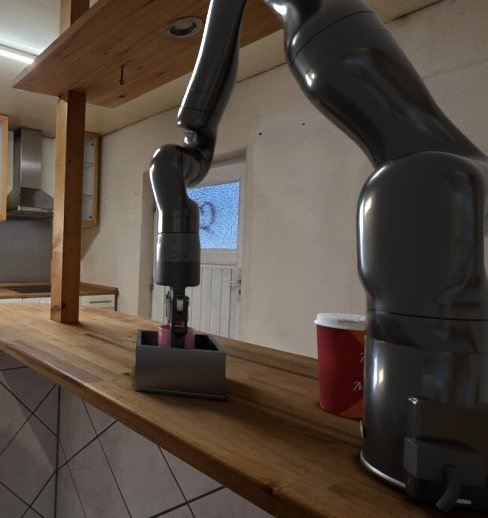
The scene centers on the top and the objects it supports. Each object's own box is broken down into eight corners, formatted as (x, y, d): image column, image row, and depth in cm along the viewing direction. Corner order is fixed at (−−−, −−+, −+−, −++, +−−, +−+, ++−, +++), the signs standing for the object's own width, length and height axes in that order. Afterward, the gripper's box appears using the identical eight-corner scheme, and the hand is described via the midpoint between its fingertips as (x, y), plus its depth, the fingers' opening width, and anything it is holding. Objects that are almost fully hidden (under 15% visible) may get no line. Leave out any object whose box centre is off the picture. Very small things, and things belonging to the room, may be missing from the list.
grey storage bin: (225, 400, 58) (226, 352, 58) (135, 390, 62) (135, 345, 62) (210, 373, 71) (211, 334, 71) (136, 366, 75) (137, 329, 75)
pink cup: (195, 385, 63) (196, 332, 63) (158, 381, 65) (159, 329, 65) (191, 374, 69) (192, 325, 69) (157, 370, 71) (158, 323, 70)
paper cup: (383, 427, 50) (386, 323, 49) (311, 412, 54) (314, 316, 54) (375, 408, 56) (378, 315, 56) (311, 395, 61) (313, 310, 60)
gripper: (206, 260, 58) (204, 366, 59) (195, 258, 72) (193, 344, 73) (156, 259, 61) (154, 361, 61) (154, 258, 74) (153, 341, 75)
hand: (175, 351), depth 67 cm, fingers closed on pink cup, 6 cm apart
